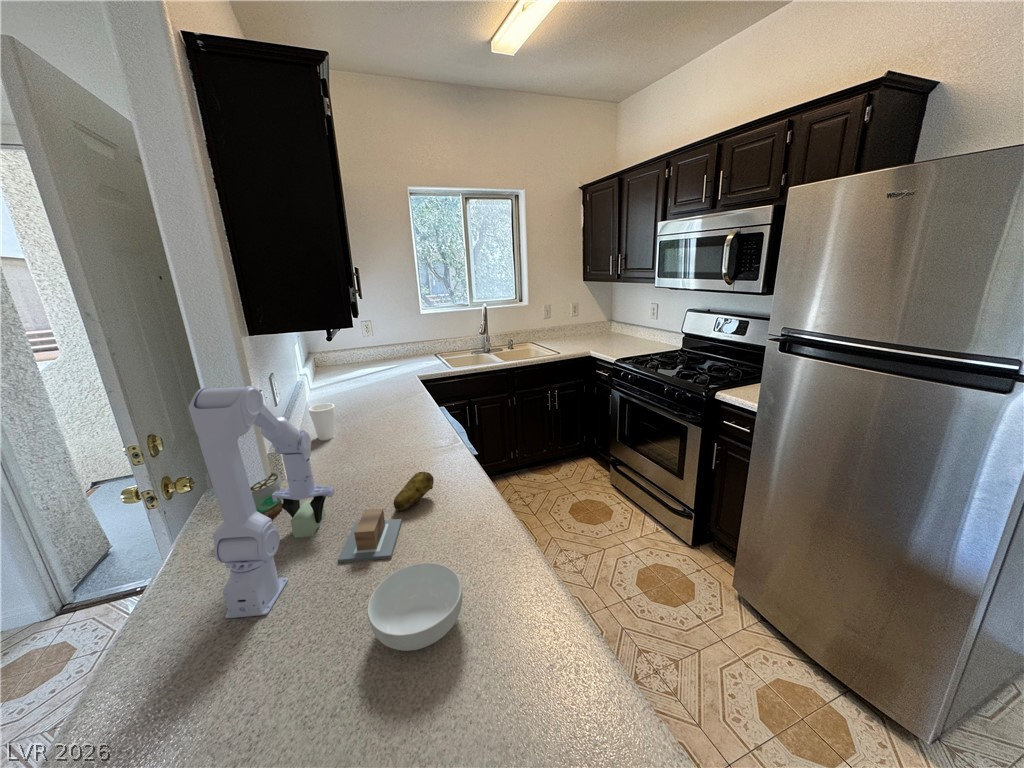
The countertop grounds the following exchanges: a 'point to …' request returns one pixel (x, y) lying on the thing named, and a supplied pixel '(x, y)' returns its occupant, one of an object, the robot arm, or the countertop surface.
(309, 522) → the green brick
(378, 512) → the walnut brick
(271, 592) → the robot arm
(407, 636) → the cereal bowl
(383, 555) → the board
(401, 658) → the countertop surface
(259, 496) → the food container
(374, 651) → the countertop surface
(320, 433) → the foam cup
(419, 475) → the potato
